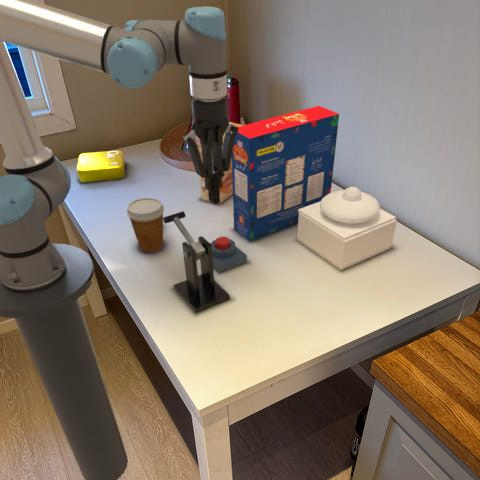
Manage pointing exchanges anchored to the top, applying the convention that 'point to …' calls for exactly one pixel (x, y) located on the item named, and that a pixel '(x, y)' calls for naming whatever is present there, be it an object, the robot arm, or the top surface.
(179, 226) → the lever
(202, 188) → the coffeecake box
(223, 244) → the button
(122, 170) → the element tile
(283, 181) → the blue cereal box
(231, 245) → the button box
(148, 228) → the disposable coffee cup
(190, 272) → the bracket
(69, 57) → the robot arm
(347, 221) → the white domed box
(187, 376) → the top surface
